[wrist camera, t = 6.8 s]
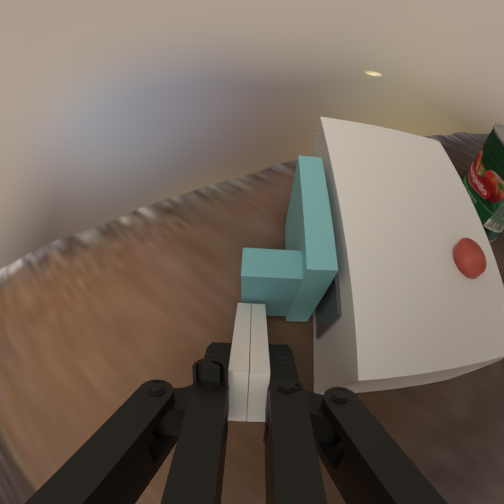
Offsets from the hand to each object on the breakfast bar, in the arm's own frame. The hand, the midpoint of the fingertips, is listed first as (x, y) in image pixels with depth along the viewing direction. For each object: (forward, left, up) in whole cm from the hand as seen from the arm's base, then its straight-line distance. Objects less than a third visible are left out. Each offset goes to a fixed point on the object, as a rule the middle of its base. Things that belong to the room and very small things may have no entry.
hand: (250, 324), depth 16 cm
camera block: (-11, 0, -3) cm, 12 cm away
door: (-4, -4, -3) cm, 6 cm away
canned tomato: (-29, -1, -3) cm, 29 cm away
